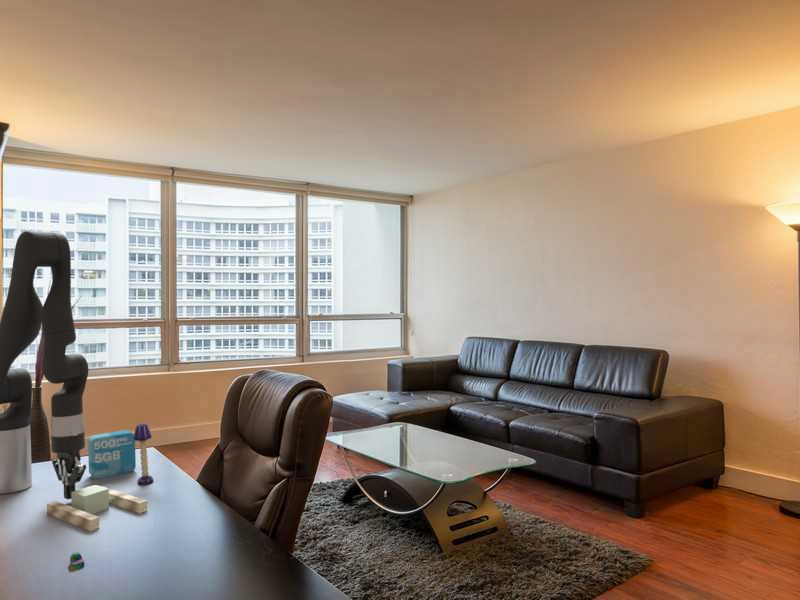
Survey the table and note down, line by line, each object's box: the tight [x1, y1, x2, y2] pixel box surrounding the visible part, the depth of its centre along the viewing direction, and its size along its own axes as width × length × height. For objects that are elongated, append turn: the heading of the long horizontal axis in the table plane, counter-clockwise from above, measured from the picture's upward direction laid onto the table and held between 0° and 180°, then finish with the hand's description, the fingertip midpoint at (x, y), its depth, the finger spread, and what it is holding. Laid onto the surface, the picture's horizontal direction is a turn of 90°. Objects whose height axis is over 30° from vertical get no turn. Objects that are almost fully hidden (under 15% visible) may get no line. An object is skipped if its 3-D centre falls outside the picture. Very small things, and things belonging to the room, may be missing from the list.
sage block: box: [71, 484, 110, 515], centre depth 143 cm, size 6×6×5 cm
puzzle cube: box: [67, 551, 85, 573], centre depth 113 cm, size 4×3×2 cm, turn 39°
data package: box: [87, 429, 137, 480], centre depth 172 cm, size 12×4×12 cm, turn 128°
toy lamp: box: [133, 423, 154, 486], centre depth 163 cm, size 5×5×17 cm
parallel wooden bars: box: [46, 486, 148, 532], centre depth 142 cm, size 20×14×2 cm
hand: (69, 498), depth 149 cm, fingers closed
